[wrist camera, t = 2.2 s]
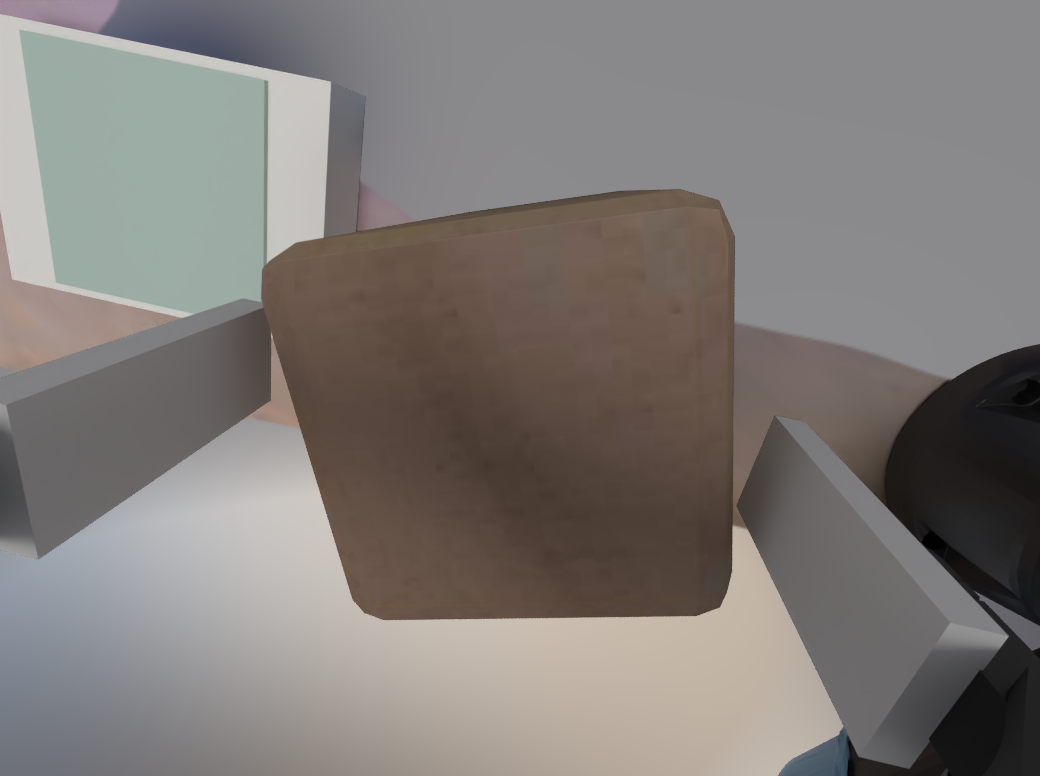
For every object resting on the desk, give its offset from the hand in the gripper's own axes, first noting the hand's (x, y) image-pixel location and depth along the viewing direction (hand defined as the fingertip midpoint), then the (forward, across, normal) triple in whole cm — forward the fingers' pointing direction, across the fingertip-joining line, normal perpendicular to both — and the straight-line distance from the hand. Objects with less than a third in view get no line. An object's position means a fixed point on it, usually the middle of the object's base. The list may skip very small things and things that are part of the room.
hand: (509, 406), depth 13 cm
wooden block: (+18, 0, 0) cm, 18 cm away
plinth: (+18, +21, -1) cm, 27 cm away
